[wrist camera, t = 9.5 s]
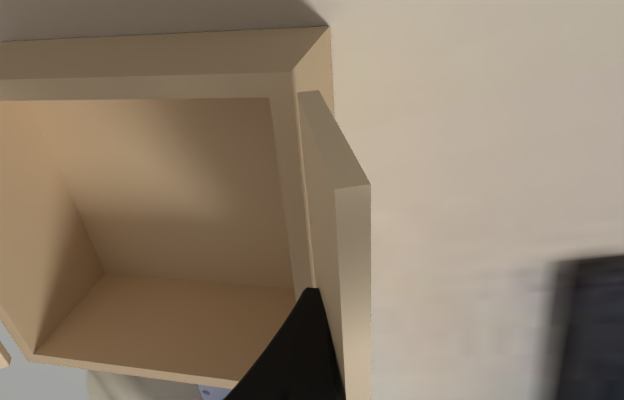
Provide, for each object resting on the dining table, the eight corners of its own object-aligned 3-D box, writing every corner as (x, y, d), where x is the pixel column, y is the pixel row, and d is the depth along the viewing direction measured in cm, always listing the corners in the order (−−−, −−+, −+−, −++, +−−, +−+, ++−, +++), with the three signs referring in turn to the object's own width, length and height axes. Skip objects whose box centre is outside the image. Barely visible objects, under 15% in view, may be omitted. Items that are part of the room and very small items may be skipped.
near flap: (327, 411, 16) (340, 409, 16) (354, 557, 12) (371, 554, 12) (297, 92, 9) (318, 89, 10) (334, 188, 6) (370, 184, 6)
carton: (342, 294, 22) (323, 401, 17) (105, 274, 24) (27, 361, 19) (329, 26, 15) (290, 72, 10) (2, 41, 18) (-157, 83, 13)
